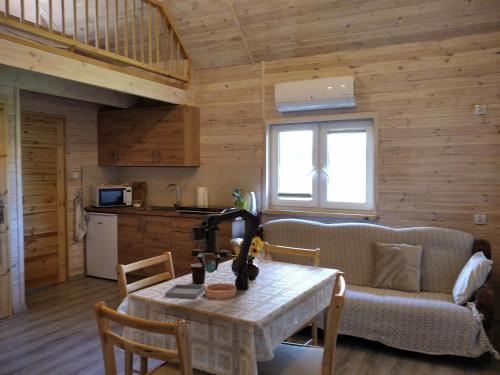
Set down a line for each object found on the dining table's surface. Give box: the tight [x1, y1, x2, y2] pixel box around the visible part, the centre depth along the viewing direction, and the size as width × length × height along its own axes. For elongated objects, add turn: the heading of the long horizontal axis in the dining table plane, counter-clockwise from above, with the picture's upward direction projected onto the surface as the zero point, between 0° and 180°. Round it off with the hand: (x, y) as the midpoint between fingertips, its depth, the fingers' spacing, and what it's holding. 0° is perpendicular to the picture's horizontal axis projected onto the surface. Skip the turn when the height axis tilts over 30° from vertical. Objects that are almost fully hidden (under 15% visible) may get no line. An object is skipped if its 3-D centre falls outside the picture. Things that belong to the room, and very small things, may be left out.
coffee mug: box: [190, 262, 207, 285], centre depth 240 cm, size 12×9×10 cm
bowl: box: [204, 282, 238, 299], centre depth 217 cm, size 16×16×3 cm
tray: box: [164, 283, 206, 299], centre depth 219 cm, size 16×16×2 cm
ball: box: [204, 260, 216, 274], centre depth 217 cm, size 6×6×6 cm
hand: (210, 270), depth 217 cm, fingers closed on ball, 6 cm apart
